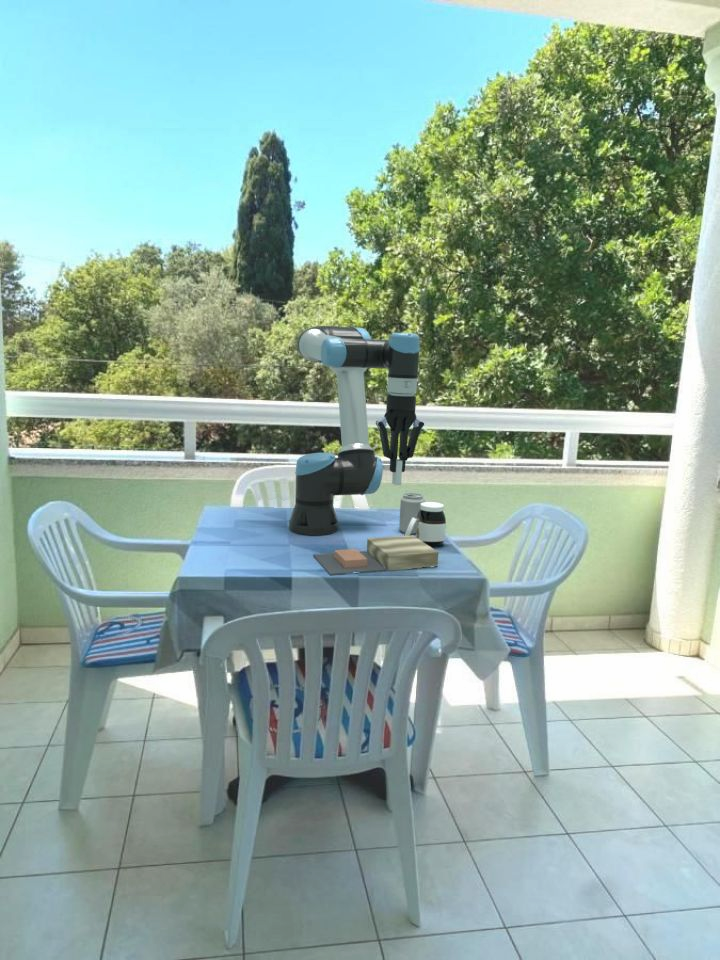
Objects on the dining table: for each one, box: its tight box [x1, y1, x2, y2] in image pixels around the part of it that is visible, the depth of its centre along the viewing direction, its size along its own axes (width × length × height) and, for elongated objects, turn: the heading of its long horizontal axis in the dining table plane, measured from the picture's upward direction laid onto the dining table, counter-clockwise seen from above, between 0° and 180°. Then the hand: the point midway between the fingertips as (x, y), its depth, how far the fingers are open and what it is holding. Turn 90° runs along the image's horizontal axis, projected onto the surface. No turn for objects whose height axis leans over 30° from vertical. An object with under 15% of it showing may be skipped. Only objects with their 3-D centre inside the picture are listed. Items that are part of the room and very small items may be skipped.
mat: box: [312, 550, 388, 576], centre depth 177 cm, size 16×15×1 cm
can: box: [398, 492, 426, 535], centre depth 209 cm, size 8×8×12 cm
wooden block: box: [366, 535, 439, 572], centre depth 182 cm, size 16×14×4 cm
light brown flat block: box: [333, 548, 367, 568], centre depth 177 cm, size 9×6×2 cm, turn 20°
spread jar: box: [403, 501, 447, 547], centre depth 199 cm, size 12×11×12 cm
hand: (396, 484), depth 178 cm, fingers closed
